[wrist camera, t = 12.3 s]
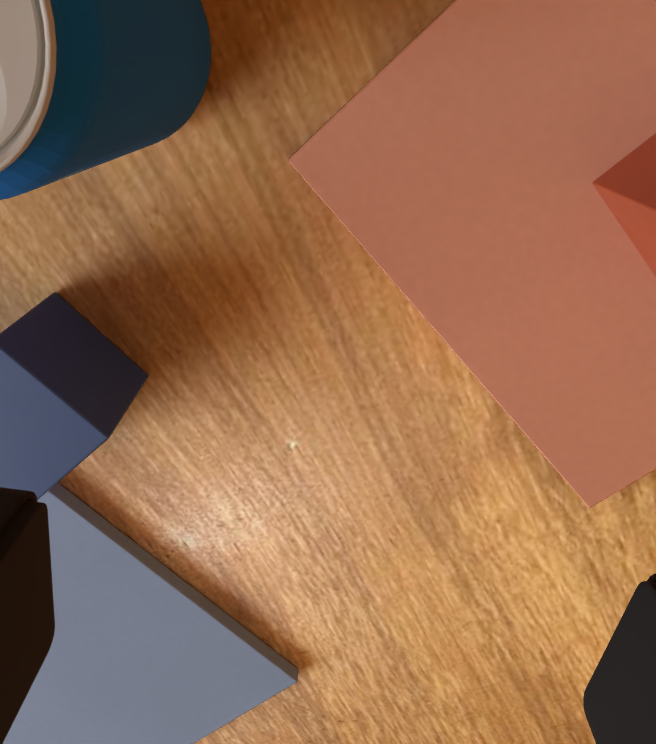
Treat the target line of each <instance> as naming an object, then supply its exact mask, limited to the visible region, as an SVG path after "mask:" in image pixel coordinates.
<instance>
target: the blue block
mask: <svg viewBox="0 0 656 744" xmlns="http://www.w3.org/2000/svg"><path fill="white" fill-rule="evenodd" d="M147 378H148V375H147V374H146V373H145V372H144V371H143V370H142V369H141V368H140V367H138V366H137V365H136V364H135V363H134V362H133V361H132V360H131V359H130V358H128V357H127V356H126V355H125V354H124V353H123V352H122V351H121V350H120V349H118V348H117V347H116V346H115V345H114V344H113V343H112V342H111V341H109V340H108V339H107V338H106V337H105V336H104V335H103V334H102V333H101V332H99V331H98V330H97V329H96V328H95V327H94V326H93V325H92V324H91V323H89V322H88V321H87V320H86V319H85V318H84V317H83V316H82V315H80V314H79V313H78V312H77V311H76V310H75V309H74V308H73V307H72V306H70V305H69V304H68V303H67V302H66V301H65V300H64V299H63V298H62V297H60V296H59V295H58V294H57V293H53V294H51V295H50V296H49V297H47V298H46V299H45V300H43V301H42V302H41V303H39V304H38V305H37V306H36V307H34V308H33V309H32V310H30V311H29V312H28V313H26V314H25V315H24V316H22V317H21V318H20V319H19V320H17V321H16V322H15V323H13V324H12V325H11V326H9V327H8V328H7V329H5V330H4V331H3V332H2V333H0V487H3V488H11V489H18V490H26V491H32V492H34V493H35V494H36V496H37V500H38V499H39V498H41V497H42V496H43V495H44V494H45V493H46V492H48V491H49V490H50V489H51V488H52V487H53V486H54V485H56V484H57V483H58V482H59V481H60V480H61V479H62V478H64V477H65V476H66V475H67V474H68V473H69V472H71V471H72V470H73V469H74V468H75V467H76V466H77V465H79V464H80V463H81V462H82V461H83V460H84V459H86V458H87V457H88V456H89V455H90V454H91V453H92V452H94V451H95V450H96V449H97V448H98V447H99V446H100V445H102V444H103V443H104V442H105V441H106V440H107V439H109V437H110V436H111V434H112V433H113V431H114V429H115V428H116V426H117V425H118V423H119V422H120V420H121V418H122V417H123V415H124V414H125V412H126V411H127V409H128V407H129V406H130V404H131V403H132V401H133V400H134V398H135V397H136V395H137V393H138V392H139V390H140V389H141V387H142V386H143V384H144V382H145V381H146V379H147Z"/></svg>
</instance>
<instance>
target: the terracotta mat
mask: <svg viewBox="0 0 656 744" xmlns="http://www.w3.org/2000/svg"><path fill="white" fill-rule="evenodd" d="M655 133H656V0H454V1H453V2H452V3H451V4H450V5H449V6H448V7H447V8H446V9H445V10H444V11H443V12H442V13H441V14H440V15H439V16H438V17H437V18H436V19H435V20H434V21H432V22H431V23H430V24H429V25H428V26H427V27H426V28H425V29H424V30H423V31H422V32H421V33H420V34H419V35H418V36H417V37H416V38H415V39H414V40H413V41H411V42H410V43H409V44H408V45H407V46H406V47H405V48H404V49H403V50H402V51H401V52H400V53H399V54H398V55H397V56H396V57H395V58H394V59H393V60H392V61H390V62H389V63H388V64H387V65H386V66H385V67H384V68H383V69H382V70H381V71H380V72H379V73H378V74H377V75H376V76H375V77H374V78H373V79H372V80H371V81H369V82H368V83H367V84H366V85H365V86H364V87H363V88H362V89H361V90H360V91H359V92H358V93H357V94H356V95H355V96H354V97H353V98H352V99H351V100H350V101H349V102H347V103H346V104H345V105H344V106H343V107H342V108H341V109H340V110H339V111H338V112H337V113H336V114H335V115H334V116H333V117H332V118H331V119H330V120H329V121H328V122H326V123H325V124H324V125H323V126H322V127H321V128H320V129H319V130H318V131H317V132H316V133H315V134H314V135H313V136H312V137H311V138H310V139H309V140H308V141H307V142H305V143H304V144H303V145H302V146H301V147H300V148H299V149H298V150H297V151H296V152H295V153H294V154H293V155H292V156H291V157H290V158H289V160H288V161H289V163H290V164H291V165H292V166H293V167H294V168H295V170H296V171H297V172H298V173H299V174H300V175H301V177H302V178H303V179H304V180H305V181H306V182H307V183H308V185H309V186H310V187H311V188H312V189H313V190H314V192H315V193H316V194H317V195H318V196H319V197H320V198H321V200H322V201H323V202H324V203H325V204H326V205H327V206H328V208H329V209H330V210H331V211H332V212H333V213H334V215H335V216H336V217H337V218H338V219H339V220H340V221H341V223H342V224H343V225H344V226H345V227H346V228H347V230H348V231H349V232H350V233H351V234H352V235H353V236H354V238H355V239H356V240H357V241H358V242H359V243H360V244H361V246H362V247H363V248H364V249H365V250H366V251H367V253H368V254H369V255H370V256H371V257H372V258H373V259H374V261H375V262H376V263H377V264H378V265H379V266H380V268H381V269H382V270H383V271H384V272H385V273H386V274H387V276H388V277H389V278H390V279H391V280H392V281H393V283H394V284H395V285H396V286H397V287H398V288H399V289H400V291H401V292H402V293H403V294H404V295H405V296H406V297H407V299H408V300H409V301H410V302H411V303H412V304H413V306H414V307H415V308H416V309H417V310H418V311H419V312H420V314H421V315H422V316H423V317H424V318H425V319H426V321H427V322H428V323H429V324H430V325H431V326H432V327H433V329H434V330H435V331H436V332H437V333H438V334H439V335H440V337H441V338H442V339H443V340H444V341H445V342H446V344H447V345H448V346H449V347H450V348H451V349H452V350H453V352H454V353H455V354H456V355H457V356H458V357H459V359H460V360H461V361H462V362H463V363H464V364H465V365H466V367H467V368H468V369H469V370H470V371H471V372H472V374H473V375H474V376H475V377H476V378H477V379H478V380H479V382H480V383H481V384H482V385H483V386H484V387H485V388H486V390H487V391H488V392H489V393H490V394H491V395H492V397H493V398H494V399H495V400H496V401H497V402H498V403H499V405H500V406H501V407H502V408H503V409H504V410H505V412H506V413H507V414H508V415H509V416H510V417H511V418H512V420H513V421H514V422H515V423H516V424H517V425H518V426H519V428H520V429H521V430H522V431H523V432H524V433H525V435H526V436H527V437H528V438H529V439H530V440H531V441H532V443H533V444H534V445H535V446H536V447H537V448H538V450H539V451H540V452H541V453H542V454H543V455H544V456H545V458H546V459H547V460H548V461H549V462H550V463H551V465H552V466H553V467H554V468H555V469H556V470H557V471H558V473H559V474H560V475H561V476H562V477H563V478H564V479H565V481H566V482H567V483H568V484H569V485H570V486H571V488H572V489H573V490H574V491H575V492H576V493H577V494H578V496H579V497H580V498H581V499H582V500H583V501H584V503H585V504H586V505H587V506H588V507H589V508H591V507H592V506H594V505H596V504H597V503H599V502H601V501H603V500H604V499H606V498H608V497H609V496H611V495H613V494H614V493H616V492H618V491H619V490H621V489H623V488H624V487H626V486H628V485H629V484H631V483H633V482H635V481H636V480H638V479H640V478H641V477H643V476H645V475H646V474H648V473H650V472H651V471H653V470H655V469H656V277H655V275H654V274H653V272H652V271H651V269H650V268H649V266H648V265H647V263H646V262H645V260H644V259H643V257H642V256H641V254H640V253H639V252H638V250H637V249H636V247H635V246H634V244H633V243H632V241H631V240H630V238H629V237H628V235H627V234H626V232H625V231H624V229H623V228H622V227H621V225H620V224H619V222H618V221H617V219H616V218H615V216H614V215H613V213H612V212H611V210H610V209H609V207H608V206H607V204H606V203H605V202H604V200H603V199H602V197H601V196H600V194H599V193H598V191H597V190H596V188H595V187H594V185H593V182H594V181H595V180H596V179H597V178H599V177H600V176H601V175H603V174H604V173H605V172H606V171H608V170H609V169H610V168H612V167H613V166H614V165H615V164H617V163H618V162H619V161H621V160H622V159H623V158H624V157H626V156H627V155H628V154H630V153H631V152H632V151H634V150H635V149H636V148H637V147H639V146H640V145H641V144H643V143H644V142H645V141H646V140H648V139H649V138H650V137H652V136H653V135H654V134H655Z"/></svg>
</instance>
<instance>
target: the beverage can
mask: <svg viewBox="0 0 656 744" xmlns="http://www.w3.org/2000/svg"><path fill="white" fill-rule="evenodd" d="M210 63H211V43H210V34H209V28H208V24H207V19H206V15H205V12H204V10H203V7H202V4H201V1H200V0H0V200H2V199H8V198H11V197H14V196H17V195H20V194H23V193H26V192H28V191H31V190H34V189H36V188H39V187H42V186H44V185H47V184H49V183H52V182H55V181H57V180H60V179H63V178H65V177H68V176H70V175H73V174H76V173H78V172H81V171H84V170H86V169H89V168H92V167H94V166H97V165H99V164H102V163H105V162H107V161H110V160H113V159H115V158H118V157H120V156H123V155H126V154H128V153H131V152H134V151H136V150H139V149H142V148H144V147H147V146H149V145H152V144H155V143H157V142H159V141H161V140H163V139H165V138H167V137H169V136H170V135H172V134H173V133H174V132H176V131H177V130H178V129H180V128H181V127H182V126H183V125H184V124H185V123H186V122H187V120H188V119H189V118H190V117H191V115H192V114H193V113H194V111H195V110H196V108H197V106H198V104H199V102H200V101H201V98H202V96H203V93H204V91H205V88H206V84H207V81H208V77H209V70H210Z"/></svg>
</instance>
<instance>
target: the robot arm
mask: <svg viewBox="0 0 656 744" xmlns="http://www.w3.org/2000/svg"><path fill="white" fill-rule="evenodd" d="M54 632H55V617H54V601H53V585H52V570H51V554H50V538H49V522H48V509H47V505H46V504H45V503H42V502H37V496H36V494H35V493H34V492H32V491H26V490H18V489H11V488H3V487H0V744H3V742H4V740H5V738H6V736H7V734H8V732H9V730H10V728H11V726H12V724H13V722H14V720H15V718H16V716H17V714H18V712H19V710H20V708H21V706H22V704H23V702H24V700H25V698H26V696H27V694H28V692H29V690H30V688H31V686H32V684H33V682H34V680H35V678H36V676H37V674H38V672H39V670H40V668H41V666H42V664H43V662H44V660H45V658H46V656H47V654H48V652H49V650H50V647H51V644H52V641H53V637H54ZM583 700H584V711H585V715H586V718H587V720H588V723H589V726H590V728H591V731H592V734H593V736H594V739H595V741H596V744H656V574H653V575H652V576H650V577H649V579H648V580H647V581H643V582H641V583H640V584H639V585H638V586H637V588H636V590H635V592H634V594H633V596H632V598H631V600H630V602H629V604H628V606H627V608H626V610H625V612H624V614H623V616H622V618H621V620H620V622H619V624H618V626H617V628H616V630H615V632H614V634H613V636H612V638H611V640H610V642H609V644H608V646H607V648H606V650H605V652H604V654H603V656H602V658H601V660H600V662H599V664H598V666H597V668H596V669H595V671H594V673H593V675H592V677H591V679H590V681H589V683H588V685H587V687H586V690H585V692H584V699H583Z"/></svg>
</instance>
